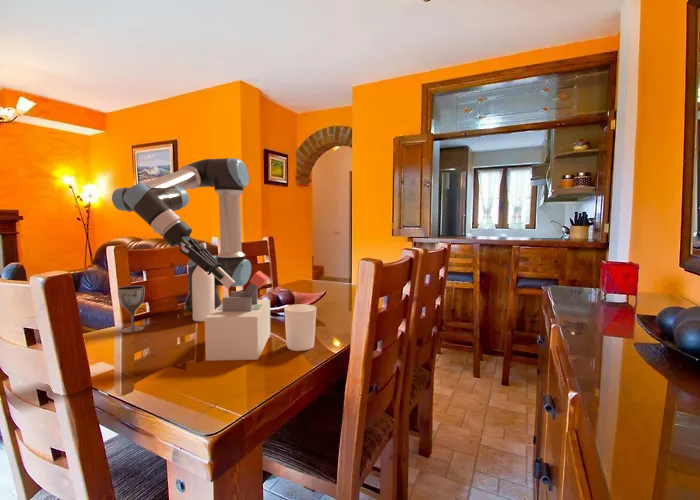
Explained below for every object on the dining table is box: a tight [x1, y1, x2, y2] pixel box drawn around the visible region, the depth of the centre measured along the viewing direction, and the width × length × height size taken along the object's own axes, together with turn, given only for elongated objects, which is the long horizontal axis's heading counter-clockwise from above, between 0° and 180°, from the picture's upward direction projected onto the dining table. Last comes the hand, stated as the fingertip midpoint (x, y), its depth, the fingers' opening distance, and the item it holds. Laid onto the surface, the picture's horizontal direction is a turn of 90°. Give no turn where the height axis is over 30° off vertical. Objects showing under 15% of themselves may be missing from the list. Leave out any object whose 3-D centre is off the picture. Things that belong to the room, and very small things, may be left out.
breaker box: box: [204, 290, 271, 362], centre depth 104 cm, size 22×14×16 cm, turn 4°
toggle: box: [241, 270, 270, 298], centre depth 104 cm, size 6×4×11 cm
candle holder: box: [283, 303, 317, 352], centre depth 105 cm, size 10×10×12 cm
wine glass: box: [117, 284, 146, 334], centre depth 120 cm, size 8×8×15 cm
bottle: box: [192, 242, 215, 322], centre depth 134 cm, size 8×8×30 cm
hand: (231, 285), depth 103 cm, fingers closed
